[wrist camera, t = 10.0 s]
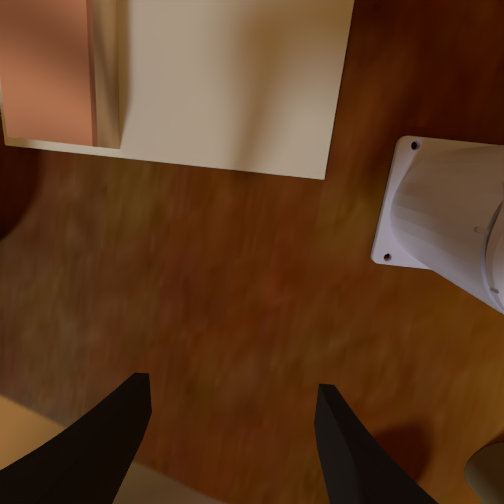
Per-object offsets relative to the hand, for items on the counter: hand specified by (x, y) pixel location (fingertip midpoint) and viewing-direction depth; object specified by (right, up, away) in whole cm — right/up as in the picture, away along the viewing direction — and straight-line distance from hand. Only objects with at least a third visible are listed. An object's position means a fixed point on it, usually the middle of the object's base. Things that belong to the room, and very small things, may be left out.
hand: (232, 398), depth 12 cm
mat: (-4, +19, +4) cm, 20 cm away
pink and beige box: (-9, +17, +5) cm, 20 cm away
